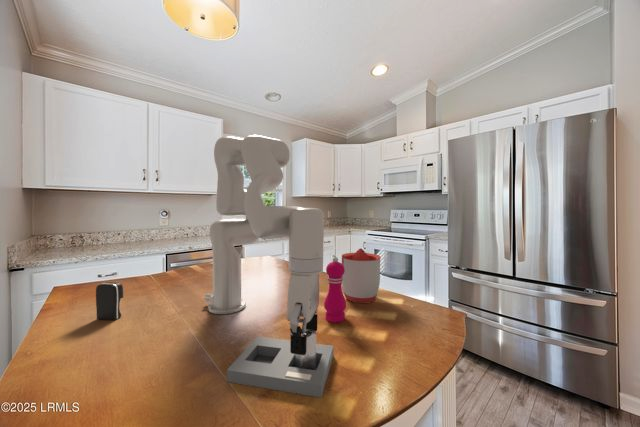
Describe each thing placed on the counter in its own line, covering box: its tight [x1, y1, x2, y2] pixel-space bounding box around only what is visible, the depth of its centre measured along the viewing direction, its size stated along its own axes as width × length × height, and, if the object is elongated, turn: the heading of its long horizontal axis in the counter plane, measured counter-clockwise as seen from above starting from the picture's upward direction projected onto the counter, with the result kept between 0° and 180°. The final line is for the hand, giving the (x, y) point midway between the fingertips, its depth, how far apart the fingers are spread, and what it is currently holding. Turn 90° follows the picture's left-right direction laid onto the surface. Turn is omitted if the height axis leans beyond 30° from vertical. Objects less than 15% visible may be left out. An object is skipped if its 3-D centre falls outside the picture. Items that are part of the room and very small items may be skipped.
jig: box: [226, 336, 335, 399], centre depth 57 cm, size 20×14×3 cm
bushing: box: [295, 329, 317, 370], centre depth 56 cm, size 5×5×8 cm
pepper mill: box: [323, 256, 347, 323], centre depth 83 cm, size 7×7×20 cm
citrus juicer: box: [340, 248, 382, 304], centre depth 101 cm, size 16×17×20 cm
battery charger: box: [95, 281, 124, 321], centre depth 83 cm, size 7×4×11 cm, turn 84°
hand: (304, 341), depth 57 cm, fingers open, 9 cm apart
